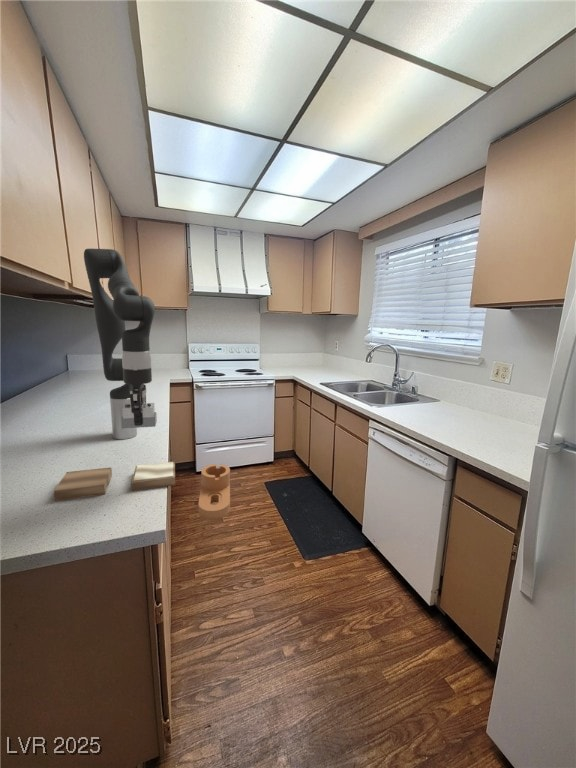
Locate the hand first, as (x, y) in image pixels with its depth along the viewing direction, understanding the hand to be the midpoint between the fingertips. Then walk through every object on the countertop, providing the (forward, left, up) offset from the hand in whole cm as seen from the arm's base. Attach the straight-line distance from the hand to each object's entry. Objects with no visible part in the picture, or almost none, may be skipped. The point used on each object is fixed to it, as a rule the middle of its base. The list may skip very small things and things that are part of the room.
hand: (139, 421), depth 92 cm
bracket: (+16, +20, -20) cm, 33 cm away
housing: (0, 0, -1) cm, 1 cm away
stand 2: (0, +3, -19) cm, 20 cm away
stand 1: (0, -16, -19) cm, 25 cm away
